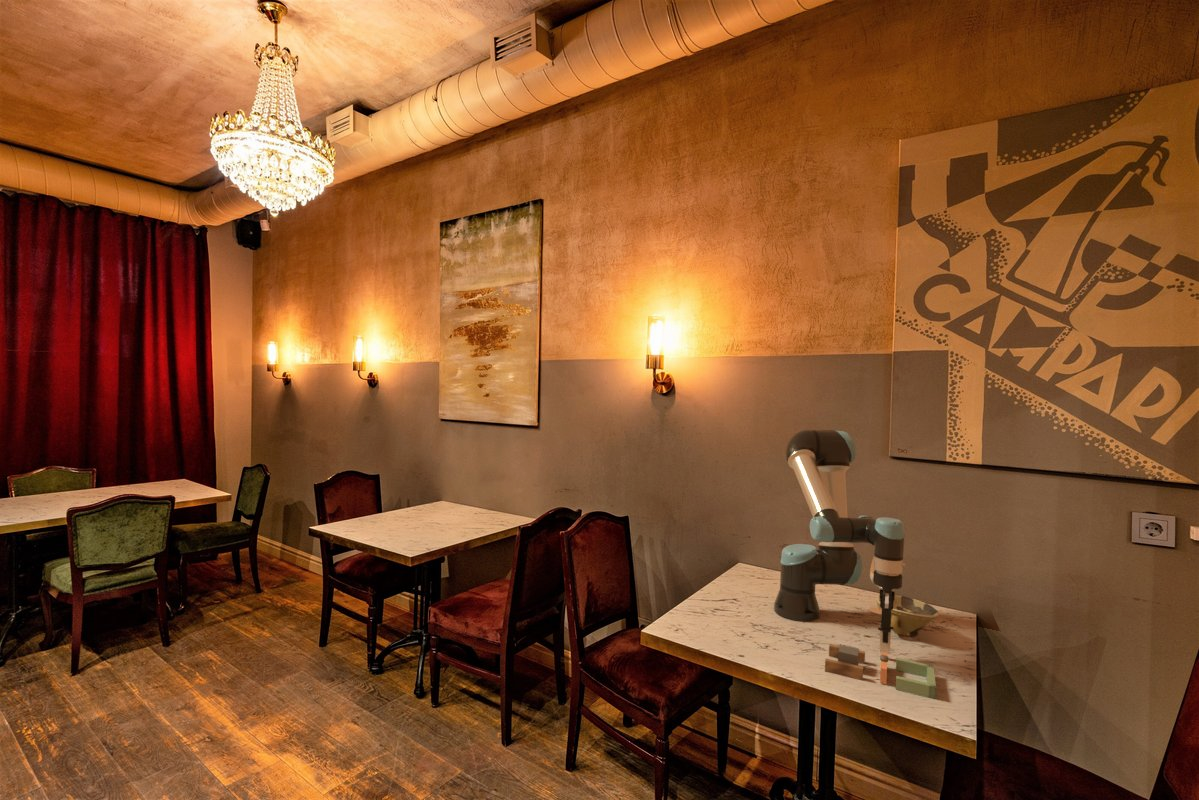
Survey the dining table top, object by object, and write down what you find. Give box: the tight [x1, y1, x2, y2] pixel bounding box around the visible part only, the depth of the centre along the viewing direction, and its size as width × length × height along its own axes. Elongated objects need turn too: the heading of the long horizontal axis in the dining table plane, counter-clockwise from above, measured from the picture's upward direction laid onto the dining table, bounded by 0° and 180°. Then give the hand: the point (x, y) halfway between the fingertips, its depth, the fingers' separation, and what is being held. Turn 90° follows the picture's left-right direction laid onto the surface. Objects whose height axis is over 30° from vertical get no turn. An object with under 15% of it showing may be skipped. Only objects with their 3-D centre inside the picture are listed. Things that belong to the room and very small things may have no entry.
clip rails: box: [824, 643, 866, 681], centre depth 161 cm, size 10×12×3 cm
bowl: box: [875, 594, 941, 638], centre depth 186 cm, size 18×18×10 cm
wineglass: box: [868, 556, 883, 616], centre depth 204 cm, size 8×8×20 cm
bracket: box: [895, 657, 937, 700], centre depth 153 cm, size 9×14×3 cm, turn 152°
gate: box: [879, 652, 889, 685], centre depth 157 cm, size 2×11×5 cm, turn 152°
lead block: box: [837, 644, 860, 666], centre depth 161 cm, size 5×5×5 cm
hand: (884, 652), depth 167 cm, fingers closed
